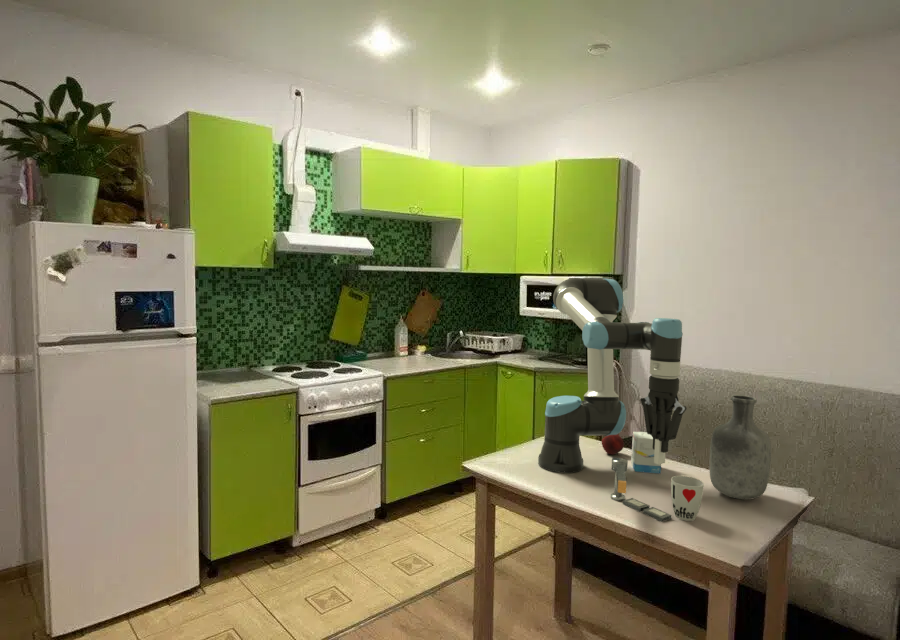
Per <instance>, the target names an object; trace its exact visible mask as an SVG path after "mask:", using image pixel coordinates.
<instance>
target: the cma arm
mask: <svg viewBox="0 0 900 640" xmlns="http://www.w3.org/2000/svg"><path fill="white" fill-rule="evenodd" d="M628 462H629V461H628V459H626V458H622V457H612V459H611V467H610V468H611V470H612V471H613V472H615V471H616V477H617V488H618V492H619V493H622V494H626V493H627V479H626V478H627V477H626V473H627V472H628V466H629V465H628Z"/></svg>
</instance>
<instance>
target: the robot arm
mask: <svg viewBox="0 0 900 640" xmlns="http://www.w3.org/2000/svg"><path fill="white" fill-rule="evenodd" d="M552 299H553V305H554V306H555V308H556V309H557V310H558V311H559V312H561V313H562V314H564V315H567V317H569V318H570V319H571V320H572V322H573V323H574V324H576V326H578V328H579V329H580V330H581V331H582V334H581V337H582V338H581V339H582V342H583V345H584V346H585V348H587V388H588V389H587V392H585V393H584V395H583V400H582V399H581V397H580V396H576V395H560V396H559V395H558V396H554V397H552V398H549V399H548V401H546V405H545V406H546V407H545V412H544V418H545V419H544V421H545V423H544V437H543V438H544V442H543V445H542V447H541V450H540V453H539V455H538V460H537V461H538V462H537V463H538V465H539V466H540V467H541V468H542V469H545V470H547V471H550V472H556V473H563V474H564V473H566V474H567V473H576V472H580V471H582V470H583V469H584V458H583V456H582V451H581V447H580V436H604V437H606V436H608V435H616V434H618V435H619V434H620V433H621V432H622V431H623V429H624V428H625V425H626V419H627V410H626V409H627V408H626V406H625V404H624V402H623V401H621V400H619V399H620V397H619V394H618V393H616V391H615V382H614V381H615V380H614V378H615V376H614V374H615V373H614V350H640V351H641V350H646V351H650V356H649V360H650V361H649V374H650V376H649V377H648V390H649V392H648V393H647V396H645V397H641V398H640V399H639V400H640V403H641V405H642V409H643V415H644V416H643V418H644V422H645V423H644V424H645V432H647V434H650V435H651V436H652V437H653V449H654V450H655V451H654V463H656V464H658V465H659V464H661V465H663V464H665V463H666V454H667V452H668V451H669V441H671V440H676V438H677V436H678V431H679V428H680V424H681V423H682V421H681V420H682V417H683V414H684V413H685V412H686V411H687V410H688V409H687V406H686V405H682V404H681V403H680V399H679V397H678V394H679V390H680V379H679V377H680V375H681V358H682V357H681V356H682V346H683V345H682V343H683V322H682V320H681V319H677V318H671V317H670V318H668V317H655V318H653V319H652V322H651V323H650V322H649V321H640V322H638V321H637V322H618V321H617V322H615V321H614V320H615V319H616V318H617V317H618V313H619V312H620V311H621V310H622V308H623V304H624V293H623V289H622V287H621V284H619V282H618V281H617V280H616V279H610V278H604V277H603V278H601V277H600V278H597V277H595V278H593V277H589V278H588V277H572V278H571V277H570V278H568V279H565V280H564V281H562V282H561V283H559V284H558V285H557V286H556V287H555V289H554V292H553V297H552Z"/></svg>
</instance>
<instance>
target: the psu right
mask: <svg viewBox="0 0 900 640" xmlns="http://www.w3.org/2000/svg"><path fill="white" fill-rule="evenodd" d="M642 514H644V515H646V516H648V517H650V518H653V519H655V520H657V521H659V522H665V521H669V520H672V514H670V513H667V512H665V511H663V510H661V509H658V508H656V507H654V506H651V507H650V508H647V509H644V510H643V511H642Z"/></svg>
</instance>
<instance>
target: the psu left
mask: <svg viewBox="0 0 900 640" xmlns="http://www.w3.org/2000/svg"><path fill="white" fill-rule="evenodd" d="M622 505H624V506H627V507H629V508H630V509H633V510H635V511H637V512H639V513H640V512H641V513H643V510H644V509H647V508H651V507H650V504H647V503H644V502H643V501H640V500H638V499H635V498H634V497H630V498H627V499H625V500H623V501H622Z"/></svg>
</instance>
